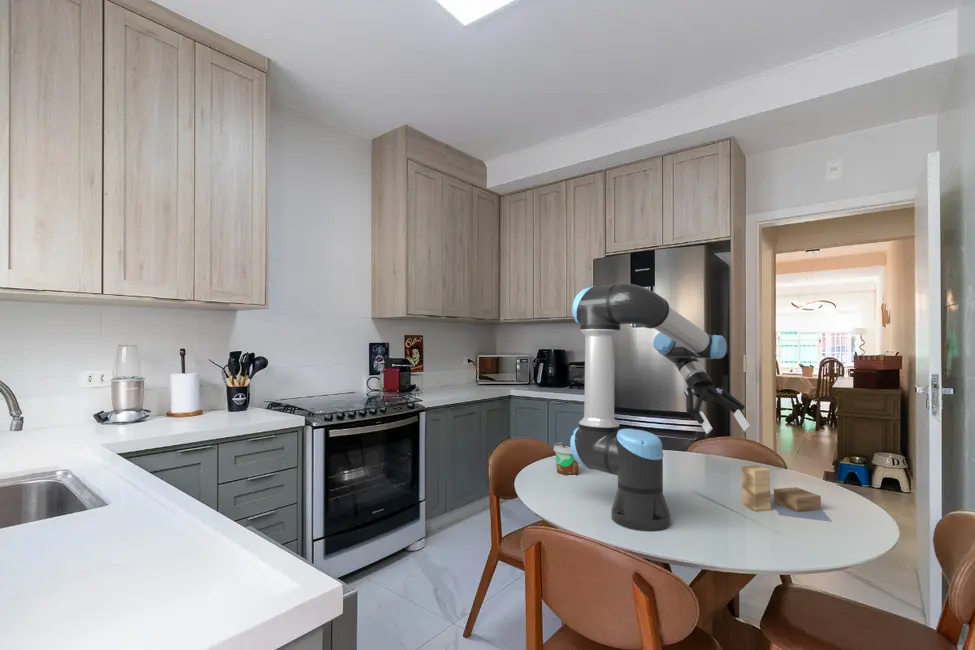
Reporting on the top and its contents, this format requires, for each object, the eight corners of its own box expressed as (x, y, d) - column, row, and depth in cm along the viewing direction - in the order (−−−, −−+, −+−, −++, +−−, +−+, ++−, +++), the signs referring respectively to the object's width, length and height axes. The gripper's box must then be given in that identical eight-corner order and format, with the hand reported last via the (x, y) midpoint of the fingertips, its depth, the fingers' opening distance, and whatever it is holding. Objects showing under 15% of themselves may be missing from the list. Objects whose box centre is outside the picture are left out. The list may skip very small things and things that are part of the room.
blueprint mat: (832, 523, 124) (832, 521, 124) (779, 517, 129) (779, 515, 129) (812, 500, 142) (812, 498, 142) (767, 495, 147) (767, 493, 147)
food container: (547, 469, 176) (547, 443, 177) (560, 467, 179) (560, 441, 179) (565, 478, 165) (565, 449, 166) (580, 476, 168) (580, 448, 168)
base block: (820, 510, 132) (820, 495, 133) (797, 512, 131) (796, 497, 131) (796, 500, 140) (796, 487, 140) (774, 502, 138) (773, 489, 139)
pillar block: (770, 512, 132) (770, 469, 133) (755, 513, 131) (754, 470, 132) (757, 506, 137) (756, 465, 138) (742, 507, 136) (741, 465, 136)
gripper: (722, 383, 166) (756, 434, 151) (659, 386, 161) (688, 439, 146) (733, 369, 161) (769, 421, 146) (668, 371, 156) (698, 425, 141)
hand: (728, 430), depth 146 cm, fingers open, 13 cm apart
